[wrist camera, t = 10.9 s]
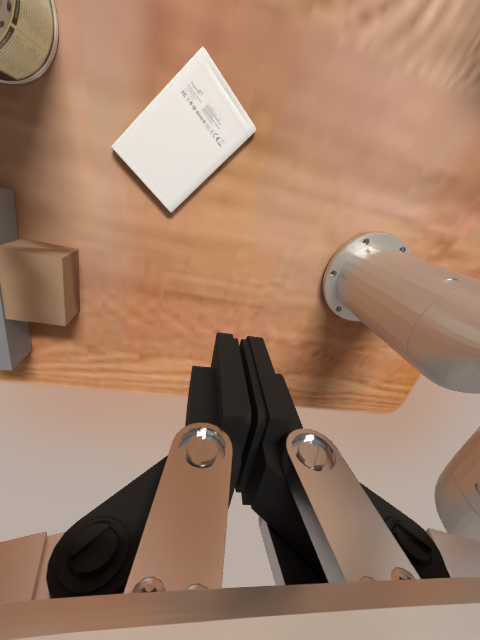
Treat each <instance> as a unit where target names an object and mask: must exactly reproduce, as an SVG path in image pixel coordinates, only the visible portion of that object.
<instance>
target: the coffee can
mask: <svg viewBox="0 0 480 640" xmlns="http://www.w3.org/2000/svg"><path fill="white" fill-rule="evenodd" d="M57 43H58V19H57V13H56V8H55V4H54V1H53V0H0V82H2V83H6V84H24V83H28V82H31V81H33V80H35V79H37V78H39V77H40V76H41V75H42V74H43V73H44V72H45V71H46V70H47V69H48V68H49V66H50V64H51V63H52V61H53V59H54V57H55V54H56V50H57Z"/></svg>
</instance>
